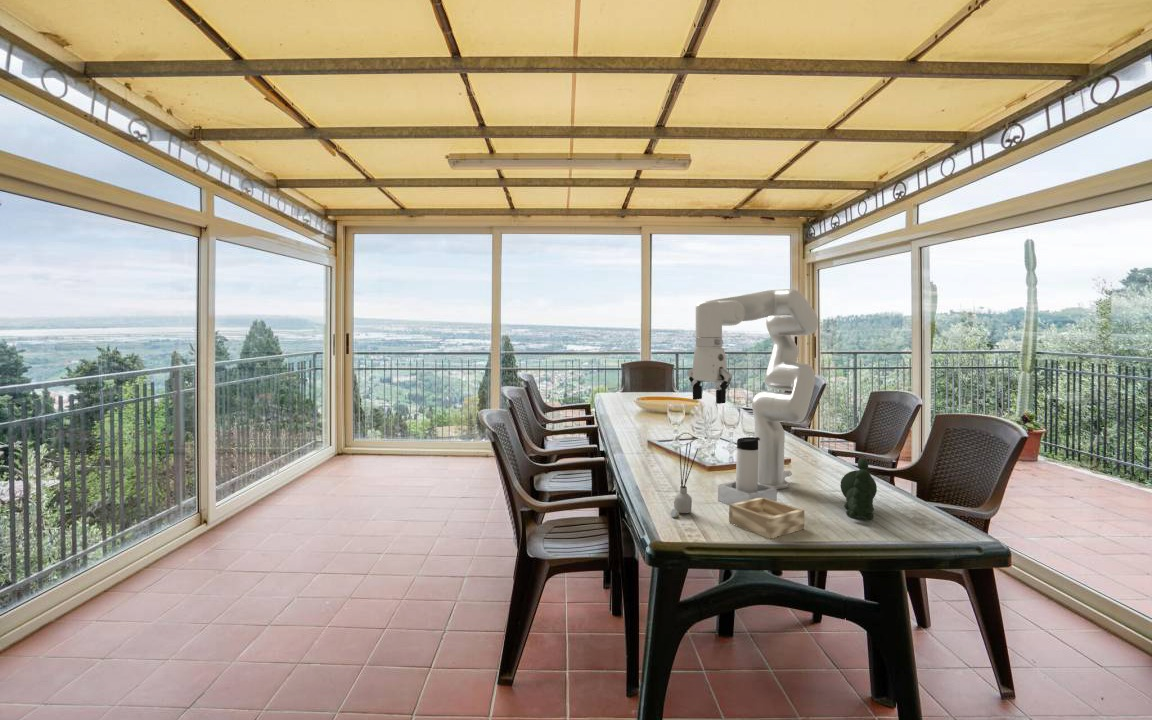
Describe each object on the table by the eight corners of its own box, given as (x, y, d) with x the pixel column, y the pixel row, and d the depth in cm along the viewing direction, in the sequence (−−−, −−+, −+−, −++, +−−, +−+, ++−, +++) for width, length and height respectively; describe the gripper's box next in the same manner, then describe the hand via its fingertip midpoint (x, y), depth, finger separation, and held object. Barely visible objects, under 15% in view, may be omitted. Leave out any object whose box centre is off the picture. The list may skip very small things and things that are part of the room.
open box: (744, 494, 173) (745, 479, 173) (776, 505, 163) (777, 488, 162) (717, 500, 167) (718, 484, 166) (748, 511, 156) (749, 494, 156)
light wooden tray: (762, 514, 154) (762, 496, 154) (803, 529, 143) (804, 510, 143) (728, 522, 147) (729, 504, 147) (769, 539, 136) (770, 519, 136)
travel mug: (759, 506, 161) (761, 439, 160) (736, 505, 162) (737, 438, 161) (757, 500, 167) (758, 435, 166) (734, 499, 168) (736, 434, 167)
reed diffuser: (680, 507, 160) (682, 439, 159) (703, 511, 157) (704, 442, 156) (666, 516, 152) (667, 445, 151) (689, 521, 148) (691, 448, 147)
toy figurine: (881, 535, 143) (873, 500, 166) (885, 466, 141) (876, 440, 163) (841, 530, 147) (838, 496, 170) (844, 462, 145) (841, 437, 167)
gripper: (740, 343, 154) (740, 403, 156) (697, 342, 169) (698, 396, 171) (720, 344, 151) (720, 406, 152) (679, 343, 166) (679, 398, 167)
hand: (708, 401), depth 161 cm, fingers open, 9 cm apart
